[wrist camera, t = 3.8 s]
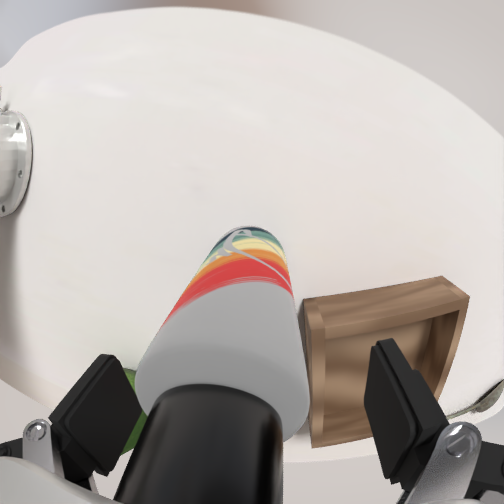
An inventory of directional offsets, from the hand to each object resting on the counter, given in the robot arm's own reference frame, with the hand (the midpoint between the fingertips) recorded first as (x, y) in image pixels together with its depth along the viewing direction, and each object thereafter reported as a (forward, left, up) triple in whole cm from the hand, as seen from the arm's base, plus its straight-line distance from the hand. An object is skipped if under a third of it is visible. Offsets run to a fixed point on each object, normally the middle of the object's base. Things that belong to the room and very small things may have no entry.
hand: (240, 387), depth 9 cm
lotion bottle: (0, -1, -14) cm, 14 cm away
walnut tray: (+12, +10, -14) cm, 21 cm away
